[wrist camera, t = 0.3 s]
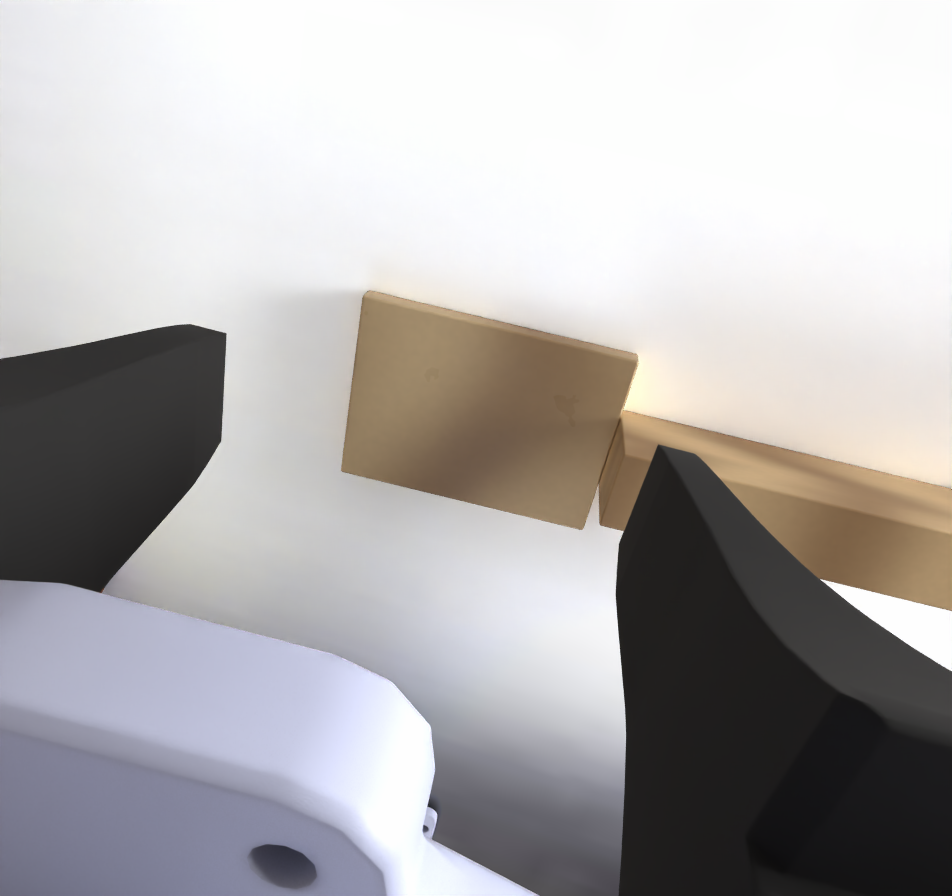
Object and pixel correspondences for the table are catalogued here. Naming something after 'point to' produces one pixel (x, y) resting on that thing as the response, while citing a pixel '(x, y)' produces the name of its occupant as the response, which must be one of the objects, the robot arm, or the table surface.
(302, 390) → the table surface
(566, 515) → the tan upright bar
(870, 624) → the robot arm
